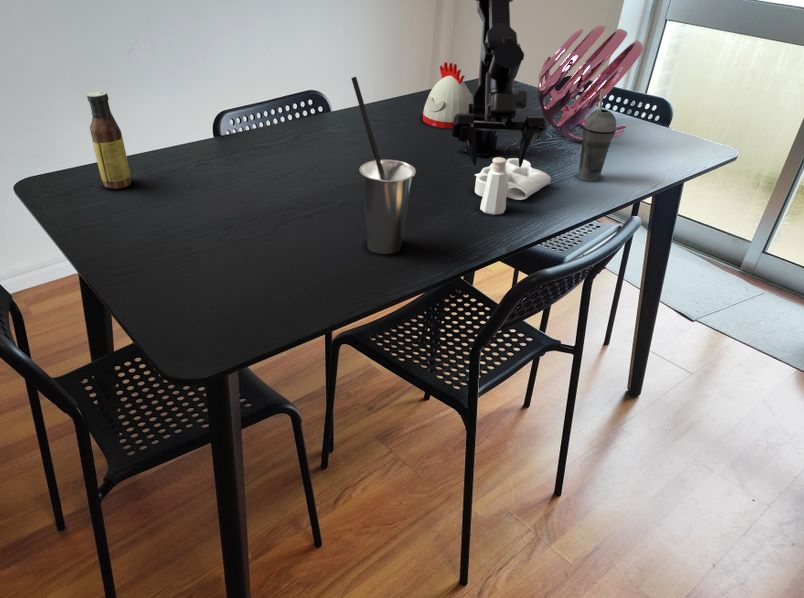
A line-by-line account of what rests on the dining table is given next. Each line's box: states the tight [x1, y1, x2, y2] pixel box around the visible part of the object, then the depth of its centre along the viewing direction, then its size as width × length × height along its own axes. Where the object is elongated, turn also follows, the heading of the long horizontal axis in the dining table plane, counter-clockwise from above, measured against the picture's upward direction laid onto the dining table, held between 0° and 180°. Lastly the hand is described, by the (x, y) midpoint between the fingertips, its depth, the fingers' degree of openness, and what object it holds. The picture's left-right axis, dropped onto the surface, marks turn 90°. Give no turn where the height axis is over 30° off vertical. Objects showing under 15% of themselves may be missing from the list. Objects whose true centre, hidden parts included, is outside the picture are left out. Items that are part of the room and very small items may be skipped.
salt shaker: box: [479, 156, 508, 216], centre depth 147 cm, size 5×5×11 cm
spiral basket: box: [536, 24, 645, 143], centre depth 181 cm, size 28×28×27 cm
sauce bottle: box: [86, 90, 132, 190], centre depth 151 cm, size 7×6×20 cm
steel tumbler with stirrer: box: [350, 76, 417, 255], centre depth 127 cm, size 11×11×30 cm
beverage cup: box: [578, 89, 617, 182], centre depth 159 cm, size 7×7×20 cm
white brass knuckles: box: [474, 157, 552, 201], centre depth 159 cm, size 3×18×15 cm
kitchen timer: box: [422, 61, 473, 129], centre depth 193 cm, size 14×14×15 cm
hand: (497, 165), depth 146 cm, fingers open, 9 cm apart
